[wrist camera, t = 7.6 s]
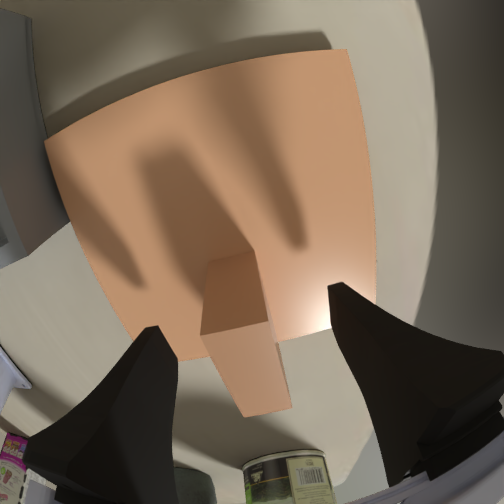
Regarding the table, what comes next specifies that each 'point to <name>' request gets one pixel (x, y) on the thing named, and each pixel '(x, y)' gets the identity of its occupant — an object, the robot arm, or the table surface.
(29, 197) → the tub
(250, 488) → the coffee can
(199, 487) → the bottle
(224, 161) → the lid
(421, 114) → the table surface
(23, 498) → the candy bar box
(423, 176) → the table surface
